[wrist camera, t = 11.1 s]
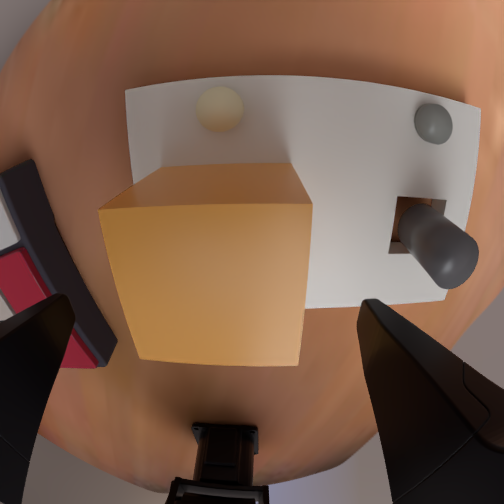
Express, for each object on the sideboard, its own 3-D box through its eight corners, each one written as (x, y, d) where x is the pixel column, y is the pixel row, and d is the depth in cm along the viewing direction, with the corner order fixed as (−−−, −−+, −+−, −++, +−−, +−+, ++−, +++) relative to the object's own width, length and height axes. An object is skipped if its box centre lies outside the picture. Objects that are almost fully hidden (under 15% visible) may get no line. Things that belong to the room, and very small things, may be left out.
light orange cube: (287, 278, 16) (298, 365, 10) (175, 278, 16) (140, 358, 10) (291, 163, 13) (312, 204, 7) (160, 167, 13) (97, 209, 8)
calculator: (23, 370, 19) (-65, 228, 12) (42, 339, 23) (-33, 205, 16) (105, 375, 18) (-10, 177, 11) (123, 334, 21) (35, 155, 14)
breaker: (432, 248, 14) (468, 287, 11) (393, 248, 14) (426, 290, 11) (441, 204, 13) (484, 235, 10) (401, 202, 13) (441, 234, 10)
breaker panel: (434, 287, 17) (448, 305, 15) (163, 292, 18) (153, 312, 16) (465, 106, 12) (487, 109, 10) (137, 91, 13) (119, 89, 11)
